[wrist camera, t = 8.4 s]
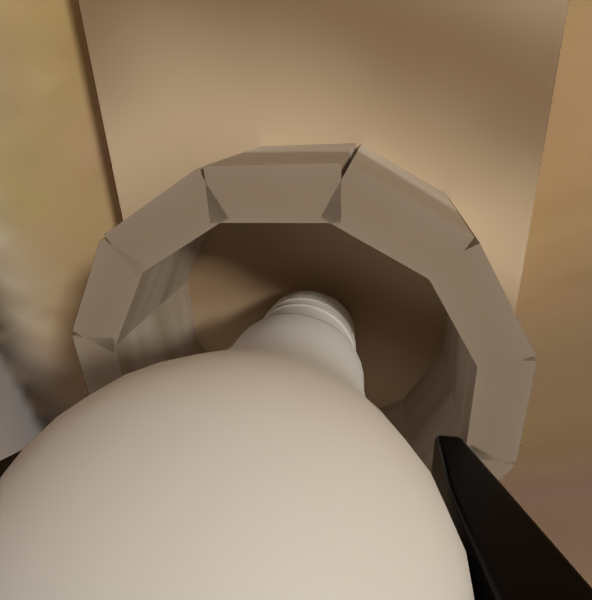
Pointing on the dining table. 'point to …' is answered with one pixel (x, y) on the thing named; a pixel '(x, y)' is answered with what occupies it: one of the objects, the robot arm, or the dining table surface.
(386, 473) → the lightbulb
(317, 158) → the lamp base
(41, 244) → the dining table surface
